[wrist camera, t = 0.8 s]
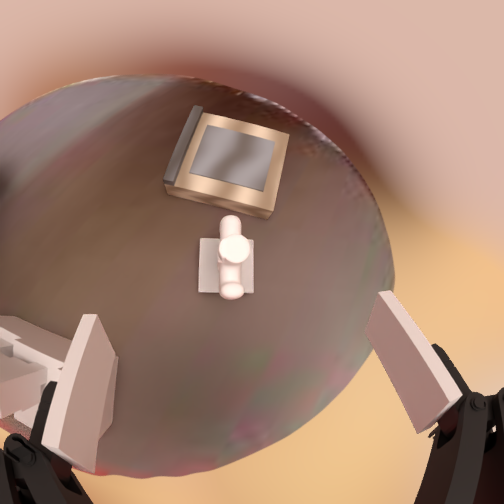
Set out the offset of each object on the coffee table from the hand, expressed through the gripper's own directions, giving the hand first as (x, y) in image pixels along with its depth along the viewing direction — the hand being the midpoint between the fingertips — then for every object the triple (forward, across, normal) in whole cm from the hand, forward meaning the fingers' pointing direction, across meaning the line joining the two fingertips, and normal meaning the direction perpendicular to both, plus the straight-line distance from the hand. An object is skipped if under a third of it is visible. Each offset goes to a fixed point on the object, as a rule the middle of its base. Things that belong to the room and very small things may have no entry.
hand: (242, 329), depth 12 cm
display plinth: (+36, +2, -2) cm, 36 cm away
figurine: (+26, 0, -14) cm, 29 cm away
